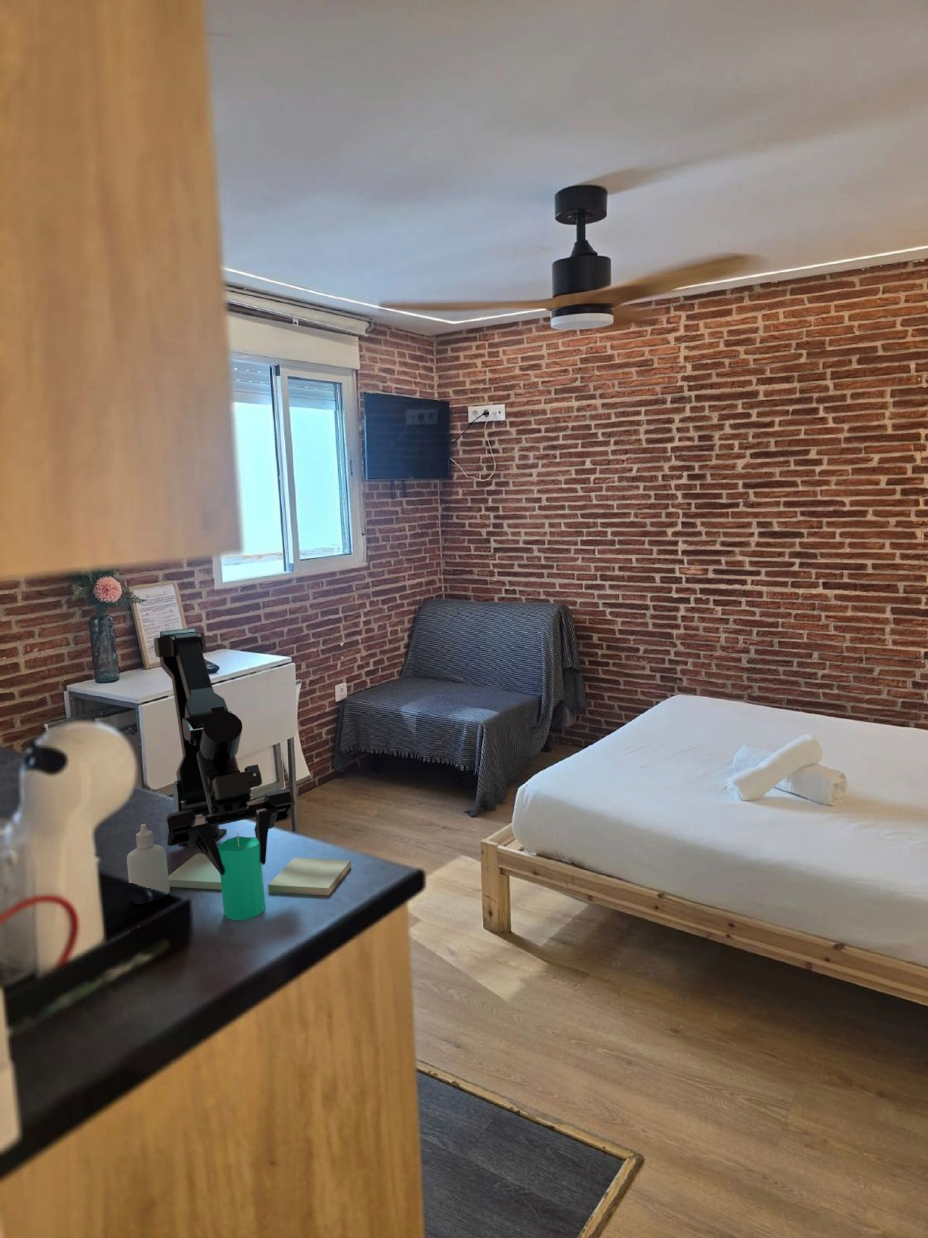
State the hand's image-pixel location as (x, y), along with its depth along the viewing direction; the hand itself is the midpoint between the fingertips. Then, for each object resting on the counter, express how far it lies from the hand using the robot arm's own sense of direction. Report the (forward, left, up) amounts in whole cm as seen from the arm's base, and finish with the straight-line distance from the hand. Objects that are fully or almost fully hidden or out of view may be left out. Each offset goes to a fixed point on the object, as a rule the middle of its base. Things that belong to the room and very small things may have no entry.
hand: (243, 868), depth 120 cm
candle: (-1, -1, -7) cm, 7 cm away
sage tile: (-12, -13, -7) cm, 19 cm away
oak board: (-12, +5, -7) cm, 15 cm away
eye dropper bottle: (-3, -18, -7) cm, 20 cm away
